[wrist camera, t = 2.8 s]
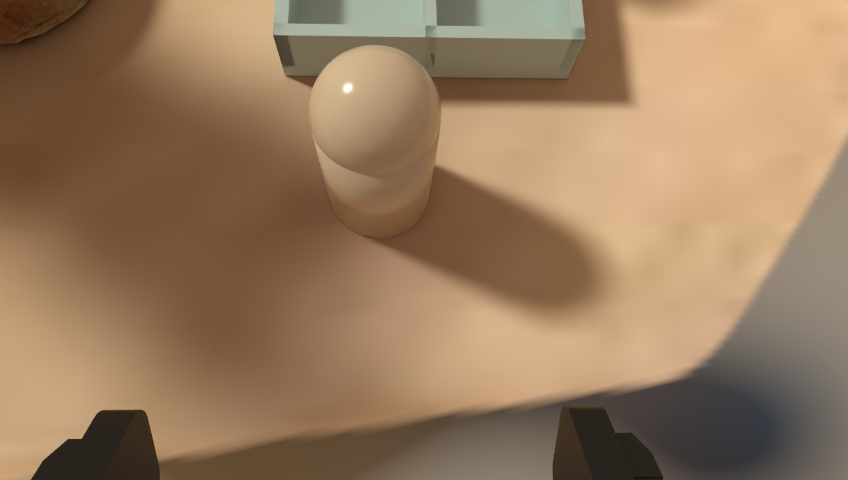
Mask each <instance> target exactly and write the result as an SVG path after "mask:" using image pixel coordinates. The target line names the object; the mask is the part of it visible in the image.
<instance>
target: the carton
mask: <svg viewBox="0 0 848 480" xmlns="http://www.w3.org/2000/svg"><path fill="white" fill-rule="evenodd" d="M273 36H274V40H275V43H276V46H277V50H278V53H279V56H280V60H281V63H282V66H283V70H284V73H285V76H319V74H320V73H321V71H322V70H323V69H324V68H325V67H326V66H327V65H328V64H329V63H330V62H331V61H332V60H333V59H334V58H336V57H337V56H338V55H340V54H342V53H343V52H345V51H348V50H350V49H353V48H356V47H360V46H366V45H382V46H388V47H392V48H395V49H398V50H401V51H403V52H405V53H407V54H408V55H410V56H411V57H413V58H414V59H415V60H417V61H418V62H419V63H420V64H421V65H422V66H423V67H424V68H425V69H426V71H427V72H428V73H429V75H430V76H431V77H463V78H555V79H567V78H568V76H569V74H570V72H571V70H572V68H573V65H574V63H575V61H576V59H577V57H578V55H579V53H580V51H581V49H582V47H583V44H584V42H585V40H586V36H585V26H584V17H583V8H582V0H275V15H274V30H273Z"/></svg>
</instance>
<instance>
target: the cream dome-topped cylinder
mask: <svg viewBox="0 0 848 480" xmlns="http://www.w3.org/2000/svg"><path fill="white" fill-rule="evenodd" d="M308 110H309V123H310V128H311V132H312V136H313V140H314V144H315V147H316V151H317V155H318V159H319V162H320V166H321V170H322V174H323V178H324V181H325V185H326V189H327V193H328V196H329V200H330V204H331V207H332V209H333V211H334V213H335V215H336V216H337V218H338V219H339V220H340V221H341V222H342V224H344V225H345V226H346V227H347V228H349V229H350V230H352V231H353V232H355V233H357V234H360V235H363V236H366V237H371V238H387V237H392V236H396V235H399V234H401V233H403V232H405V231H407V230H408V229H410V228H411V227H412V226H413V225H415V224H416V223H417V222H418V221H419V219H420V218H421V217H422V215H423V214H424V212H425V210H426V207H427V205H428V201H429V196H430V190H431V183H432V177H433V170H434V164H435V157H436V151H437V144H438V138H439V132H440V125H441V102H440V98H439V94H438V90H437V88H436V85H435V83H434V82H433V80H432V78H431V76H430V75H429V73H428V72H427V71H426V69H425V68H424V67H423V66H422V65H421V64H420V63H419V62H418V61H417V60H415V59H414V58H413V57H411V56H410V55H408V54H407V53H405V52H403V51H401V50H398V49H395V48H392V47H388V46H382V45H366V46H360V47H356V48H353V49H350V50H348V51H345V52H343V53H342V54H340V55H338V56H337V57H336V58H334V59H333V60H332V61H331V62H330V63H329V64H328V65H327V66H326V67H325V68H324V69H323V70H322V71H321V73H320V74H319V76H318V78H317V79H316V82H315V84H314V86H313V88H312V91H311V95H310V100H309V108H308Z"/></svg>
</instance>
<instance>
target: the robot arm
mask: <svg viewBox="0 0 848 480" xmlns="http://www.w3.org/2000/svg"><path fill="white" fill-rule="evenodd" d="M31 480H160V471H159V464H158V460H157V455H156V451H155V447H154V443H153V438H152V434H151V430H150V425H149V421H148V417H147V414H146V413H145V411H143V410H102V411H100V412H98V414H97V415H96V416H95V417H94V419H93V421H92V423H91V424H90V426H89V428H88V429H87V431H86V433H85V434H84V436H83V438H82V439H68V440H67V441H65V442H64V443H63V444H62V445H61V446H60V447H58V448H57V449H56V450H55V451H54V452H53V453H51V454H50V455H49V456H48V457H47V458H46V459H45V460H43V462H42V463H41V465H40V466H39V468H38V469H37V471H36V473H35V474H34V476H33V477H32V479H31ZM553 480H663V476H662V474H661V471H660V469H659V468H658V465H657V463H656V461H655V459H654V457H653V455H652V453H651V452H650V451H649V450H648V449H647V448H646V447H645V446H644V445H643V444H642V443H641V442H640V441H639V440H638V439H637V438H636V437H635V436H634V435H633V434H632V433H615V431H614V429H613V427H612V424H611V422H610V420H609V417H608V415H607V412H606V411H605V409H604V407H603V406H564V407H563V408H562V411H561V416H560V422H559V428H558V434H557V440H556V447H555V453H554V459H553Z"/></svg>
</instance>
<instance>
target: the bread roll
mask: <svg viewBox="0 0 848 480" xmlns="http://www.w3.org/2000/svg"><path fill="white" fill-rule="evenodd" d="M87 2H88V0H0V44H4V43H11V44H13V43H18V42H20V41H21V40H22V39H27V38H31V37H34V36H38V35H42V34H45V33H46V32H47V31H48V30H50V29H51V28H53V27H54V26H56V25H58V24H60V23H62V22H63V21H65V20H66V19H68V18H69V17H71V16H72V15H74V14H75V13H76V12H77V11H79V10H80V9H81V8H82V7H83V6H84V5H85V4H86V3H87Z"/></svg>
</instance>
